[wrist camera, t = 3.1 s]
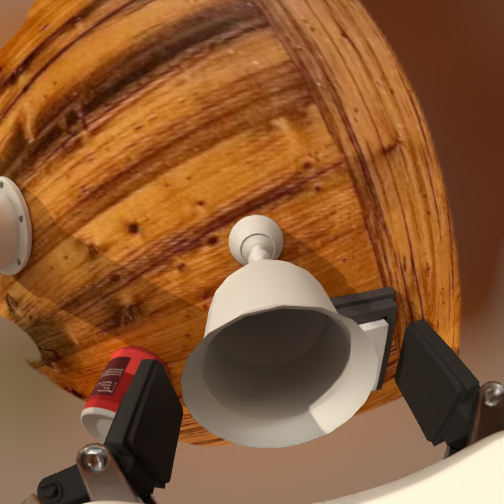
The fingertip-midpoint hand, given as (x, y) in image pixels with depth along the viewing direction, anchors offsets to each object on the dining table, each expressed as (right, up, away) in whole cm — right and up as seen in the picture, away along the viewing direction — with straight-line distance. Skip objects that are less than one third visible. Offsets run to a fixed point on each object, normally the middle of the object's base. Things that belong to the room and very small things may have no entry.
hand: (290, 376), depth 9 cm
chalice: (-1, +5, +16) cm, 17 cm away
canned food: (-15, -10, +21) cm, 27 cm away
